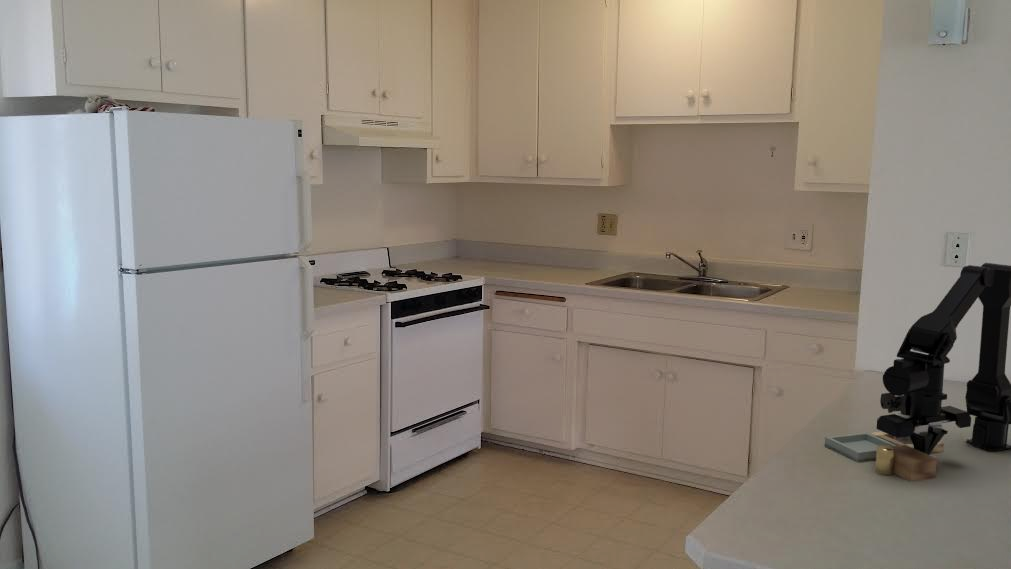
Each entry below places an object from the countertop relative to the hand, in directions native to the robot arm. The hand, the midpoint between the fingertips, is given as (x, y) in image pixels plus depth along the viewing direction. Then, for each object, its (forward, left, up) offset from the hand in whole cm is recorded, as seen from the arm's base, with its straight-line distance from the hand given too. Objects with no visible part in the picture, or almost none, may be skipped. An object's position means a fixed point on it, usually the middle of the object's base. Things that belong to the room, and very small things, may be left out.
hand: (921, 462), depth 170 cm
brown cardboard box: (+5, +1, -1) cm, 5 cm away
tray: (+5, -11, -1) cm, 12 cm away
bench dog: (+9, 0, -1) cm, 9 cm away
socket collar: (-7, -11, -1) cm, 13 cm away
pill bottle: (-7, -11, -1) cm, 13 cm away
